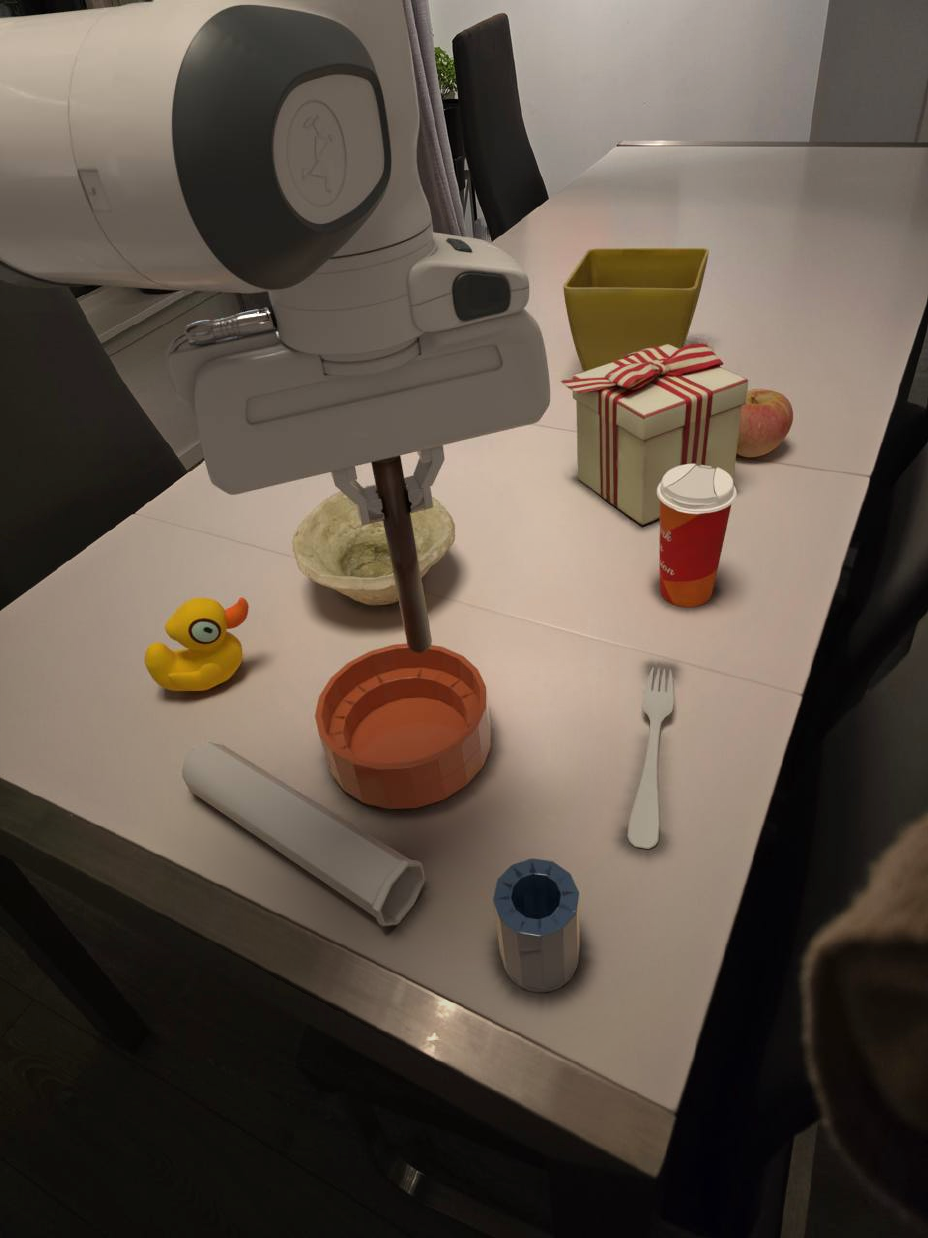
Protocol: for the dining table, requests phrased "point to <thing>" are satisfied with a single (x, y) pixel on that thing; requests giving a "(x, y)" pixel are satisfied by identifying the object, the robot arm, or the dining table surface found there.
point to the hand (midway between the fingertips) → (396, 512)
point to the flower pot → (632, 300)
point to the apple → (763, 422)
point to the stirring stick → (403, 552)
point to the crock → (537, 924)
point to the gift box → (654, 422)
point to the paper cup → (692, 531)
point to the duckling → (198, 646)
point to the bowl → (364, 548)
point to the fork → (650, 764)
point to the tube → (306, 832)
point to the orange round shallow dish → (405, 725)
